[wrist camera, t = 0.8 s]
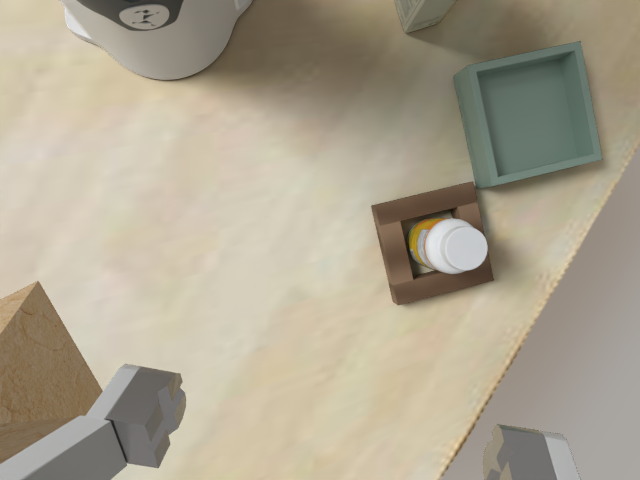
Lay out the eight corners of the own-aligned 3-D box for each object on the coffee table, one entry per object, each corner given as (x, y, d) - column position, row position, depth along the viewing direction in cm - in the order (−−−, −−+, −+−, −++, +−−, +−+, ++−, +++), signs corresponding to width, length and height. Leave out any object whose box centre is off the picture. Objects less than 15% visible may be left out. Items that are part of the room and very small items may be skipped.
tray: (453, 76, 47) (467, 65, 44) (558, 53, 48) (580, 41, 45) (476, 188, 48) (492, 186, 45) (579, 163, 49) (602, 159, 46)
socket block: (371, 205, 47) (375, 205, 45) (465, 183, 48) (473, 181, 46) (392, 301, 48) (398, 305, 46) (485, 277, 49) (493, 280, 47)
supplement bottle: (456, 222, 48) (500, 223, 39) (447, 269, 48) (490, 282, 39) (410, 214, 48) (443, 213, 38) (401, 262, 48) (433, 273, 38)
